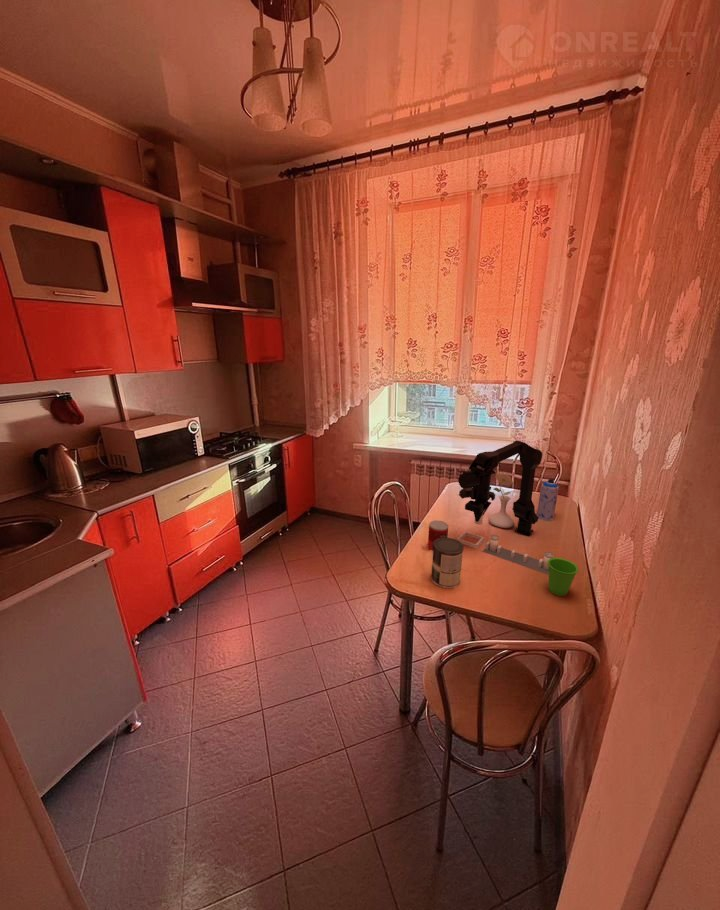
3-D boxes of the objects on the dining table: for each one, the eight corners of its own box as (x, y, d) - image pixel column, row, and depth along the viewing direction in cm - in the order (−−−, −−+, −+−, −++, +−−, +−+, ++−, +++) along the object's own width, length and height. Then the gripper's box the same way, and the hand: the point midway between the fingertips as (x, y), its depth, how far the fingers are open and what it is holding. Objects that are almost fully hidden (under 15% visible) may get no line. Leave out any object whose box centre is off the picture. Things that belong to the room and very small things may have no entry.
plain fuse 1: (490, 547, 148) (492, 534, 146) (498, 549, 146) (500, 536, 144) (488, 550, 145) (489, 537, 144) (495, 552, 144) (497, 539, 142)
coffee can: (425, 580, 128) (427, 545, 124) (439, 567, 135) (441, 534, 131) (452, 592, 122) (455, 556, 117) (465, 578, 129) (468, 543, 125)
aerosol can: (552, 522, 171) (559, 483, 166) (534, 518, 175) (541, 480, 170) (554, 516, 178) (561, 478, 172) (537, 512, 182) (543, 475, 176)
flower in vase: (519, 527, 166) (527, 477, 159) (500, 532, 162) (507, 480, 155) (499, 516, 178) (505, 468, 171) (480, 519, 174) (486, 471, 167)
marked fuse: (475, 520, 150) (477, 507, 148) (483, 522, 148) (484, 509, 147) (473, 522, 148) (474, 509, 146) (480, 525, 146) (482, 511, 144)
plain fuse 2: (543, 564, 136) (545, 550, 134) (552, 567, 134) (554, 553, 132) (541, 568, 134) (543, 554, 132) (550, 571, 132) (553, 557, 130)
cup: (562, 584, 126) (568, 557, 123) (578, 602, 117) (584, 573, 114) (537, 585, 126) (542, 557, 123) (551, 602, 117) (557, 573, 114)
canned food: (432, 555, 144) (434, 530, 141) (424, 544, 151) (425, 521, 148) (450, 552, 146) (452, 528, 143) (440, 542, 153) (442, 519, 150)
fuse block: (489, 545, 151) (489, 538, 150) (557, 568, 135) (559, 560, 134) (482, 553, 145) (482, 546, 144) (552, 578, 129) (554, 570, 128)
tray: (464, 535, 159) (465, 531, 158) (483, 542, 153) (484, 537, 153) (456, 543, 152) (456, 538, 151) (476, 550, 147) (476, 545, 146)
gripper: (471, 474, 155) (468, 507, 159) (453, 486, 141) (450, 522, 145) (497, 480, 149) (493, 514, 153) (482, 493, 134) (477, 530, 139)
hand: (478, 520), depth 148 cm, fingers closed on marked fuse, 3 cm apart
